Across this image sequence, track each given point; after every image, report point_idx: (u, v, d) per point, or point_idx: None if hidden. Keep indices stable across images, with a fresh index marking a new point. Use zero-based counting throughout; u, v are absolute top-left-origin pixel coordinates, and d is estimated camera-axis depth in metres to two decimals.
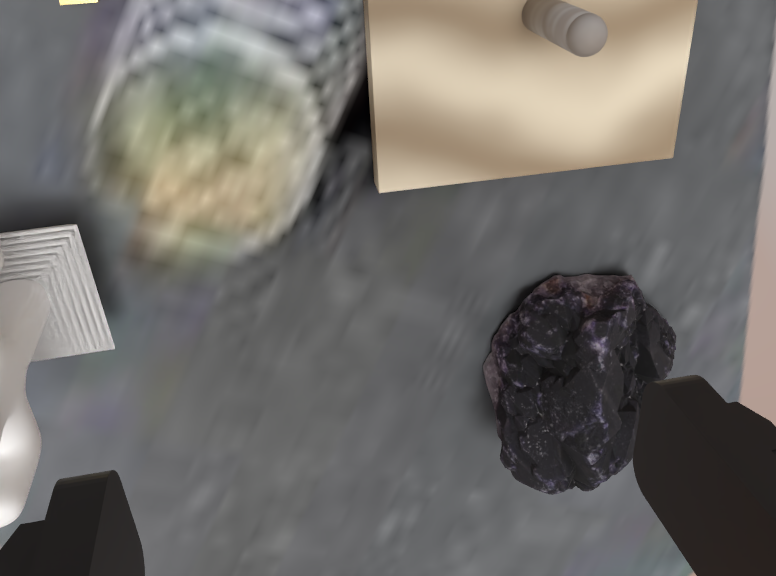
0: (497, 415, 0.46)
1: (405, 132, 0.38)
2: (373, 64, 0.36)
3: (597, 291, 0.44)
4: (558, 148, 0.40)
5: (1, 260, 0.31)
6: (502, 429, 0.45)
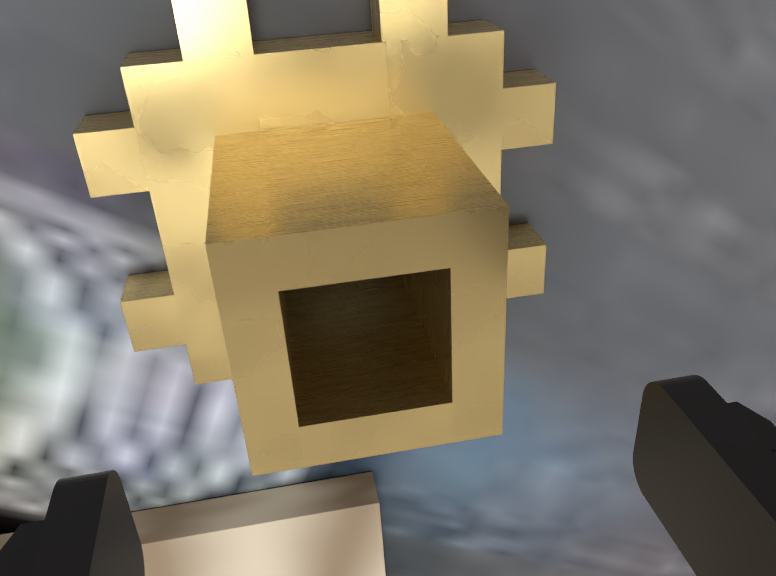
0: None
1: None
2: None
3: None
4: None
5: None
6: None
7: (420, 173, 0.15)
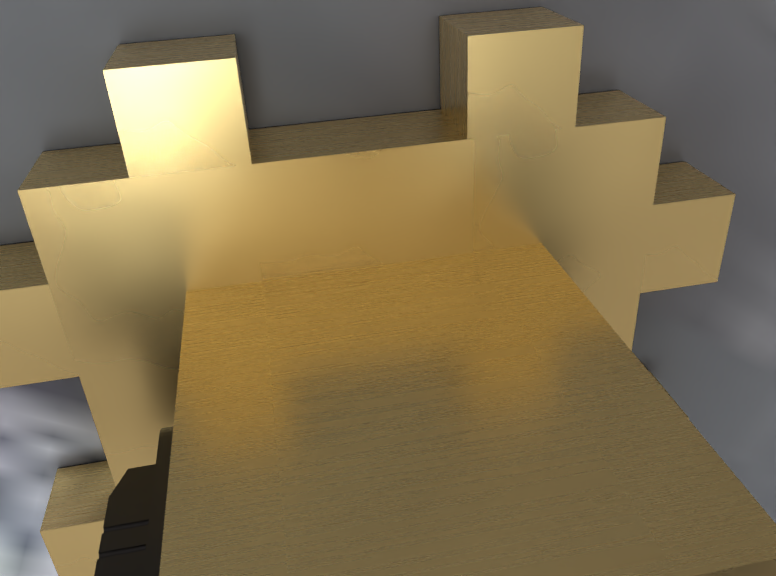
0: None
1: None
2: None
3: None
4: None
5: None
6: None
7: (570, 419, 0.08)
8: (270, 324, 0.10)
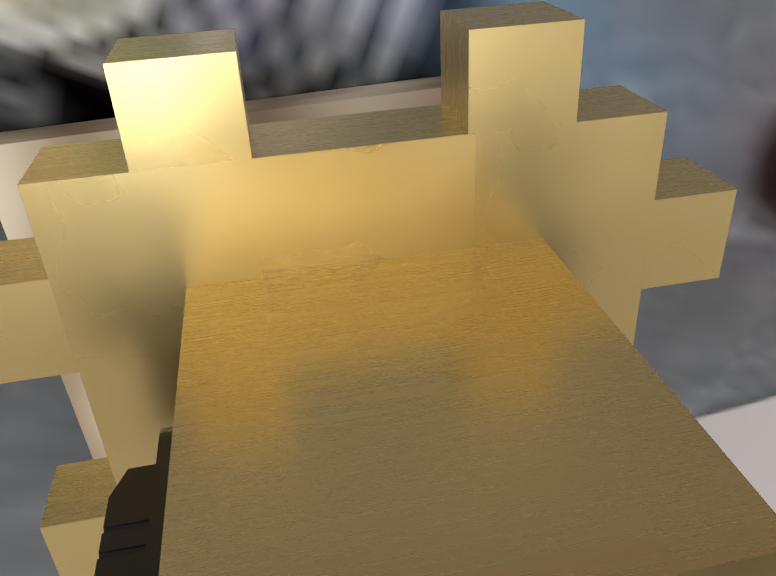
0: None
1: None
2: None
3: None
4: None
5: None
6: None
7: (572, 413, 0.08)
8: (271, 319, 0.10)
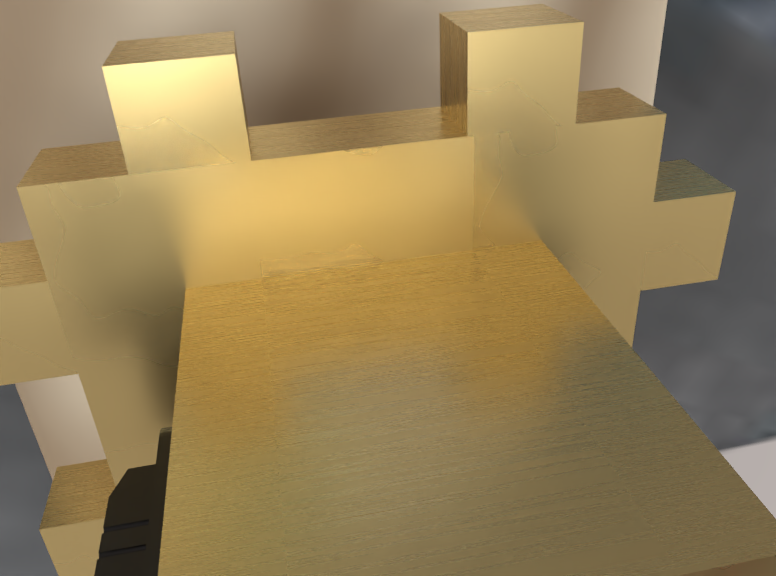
0: None
1: None
2: None
3: None
4: None
5: None
6: None
7: (571, 416, 0.08)
8: (270, 321, 0.10)
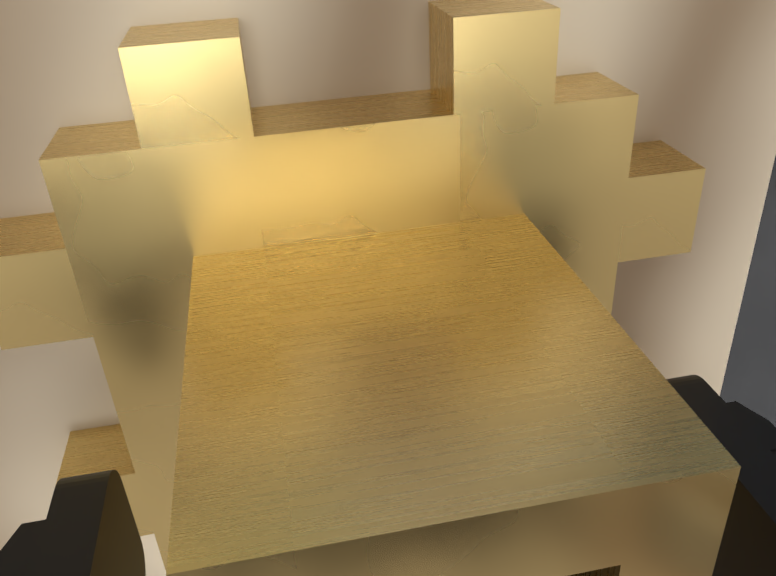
0: None
1: None
2: None
3: None
4: None
5: None
6: None
7: (544, 361, 0.09)
8: (271, 284, 0.10)
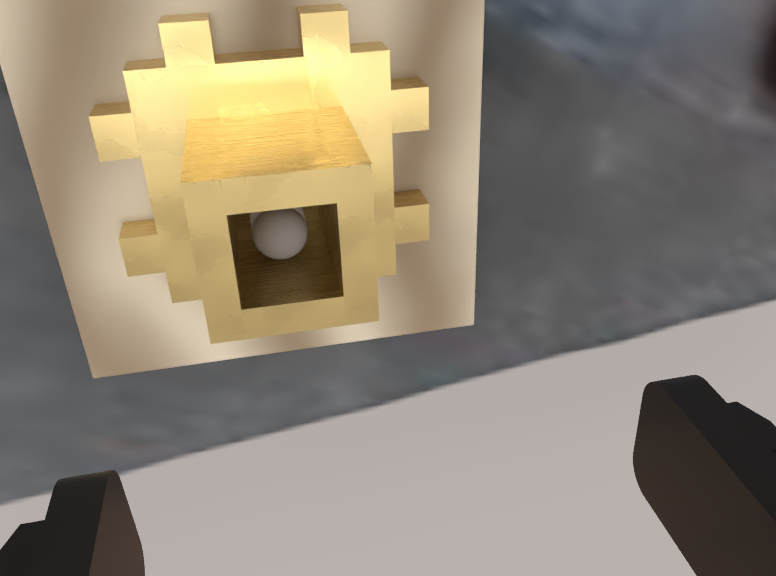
0: None
1: None
2: None
3: None
4: (86, 228, 0.28)
5: None
6: None
7: (322, 144, 0.23)
8: (221, 127, 0.24)
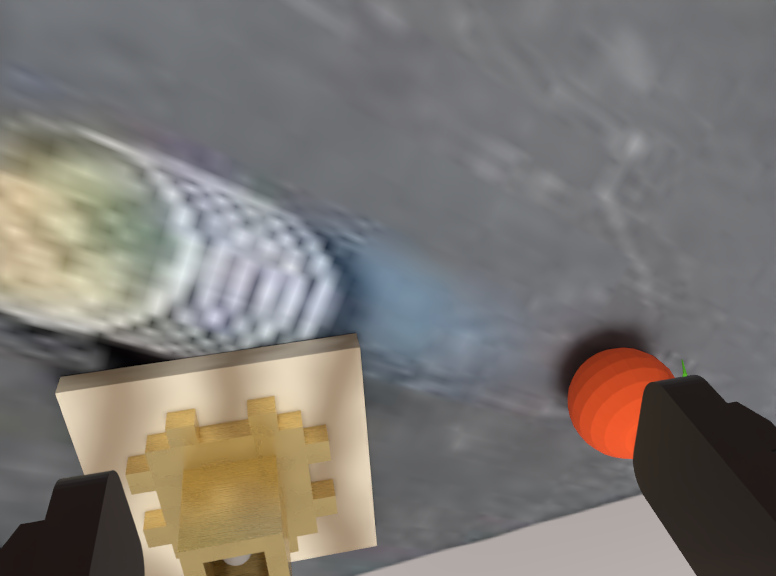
0: None
1: (121, 406, 0.41)
2: (181, 375, 0.41)
3: None
4: None
5: None
6: None
7: (258, 508, 0.40)
8: (202, 481, 0.42)
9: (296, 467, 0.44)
